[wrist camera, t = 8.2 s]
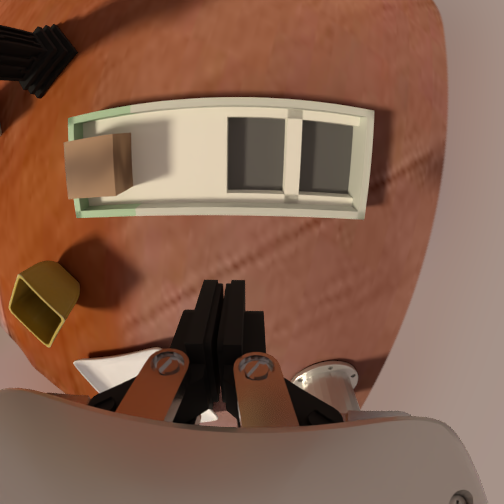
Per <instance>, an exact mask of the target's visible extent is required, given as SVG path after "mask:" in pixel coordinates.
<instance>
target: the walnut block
mask: <svg viewBox="0 0 504 504" xmlns="http://www.w3.org/2000/svg"><path fill="white" fill-rule="evenodd" d="M64 156H65V170H66V181H67V190H68V199H77V198H92V197H109V196H117V195H119V194H121V193H122V192H124V191H126V190H128V189H129V188H131V187H133V175H132V152H131V133H118V134H109V135H102V136H95V137H89V138H84V139H78V140H73V141H68V142H64Z"/></svg>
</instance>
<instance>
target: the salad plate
mask: <svg viewBox="0 0 504 504" xmlns="http://www.w3.org/2000/svg"><path fill="white" fill-rule="evenodd" d="M159 350H162V348H159V347H153V348H149V349H145V350H141V351H136V352H132V353H127V354H121V355H114V356H108V357H99V358H86V359H79V360H76V361H74V365H75V367H76V368H77V369H78V370H79V371H80V373H81V374H82V375H83V376H84V377H85V378H86V379H87V381H88V382H89V383H90V384H91V385H92V386H93V387H94V388H95V389H96V390H97V391H98V392H99V393H101V392H104V391H106V390H108V389H110V388H112V387H115V386H117V385H119V384H121V383H123V382H125V381H128V380H130V379H132V378H134V377H136V376H137V375H138V374H139V372H140V370H141V369H142V367H143V366H144V364H145V362H146V361H147V359H148V358H149V357H150V356H151V355H152V354H153V353H155V352H156V351H159ZM217 419H218V416H217V414H216V413H215V412H214V411H213V410H211V409H208V410H207V411H205V412H204V413H202V414H201V421H200V422H209V421H215V420H217Z"/></svg>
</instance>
